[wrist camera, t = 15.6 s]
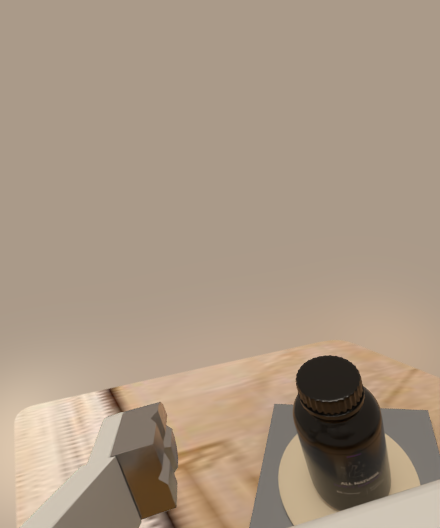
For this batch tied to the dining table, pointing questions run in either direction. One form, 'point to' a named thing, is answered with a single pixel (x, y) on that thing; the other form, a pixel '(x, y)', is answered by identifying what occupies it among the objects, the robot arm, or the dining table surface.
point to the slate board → (298, 478)
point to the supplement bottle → (341, 433)
